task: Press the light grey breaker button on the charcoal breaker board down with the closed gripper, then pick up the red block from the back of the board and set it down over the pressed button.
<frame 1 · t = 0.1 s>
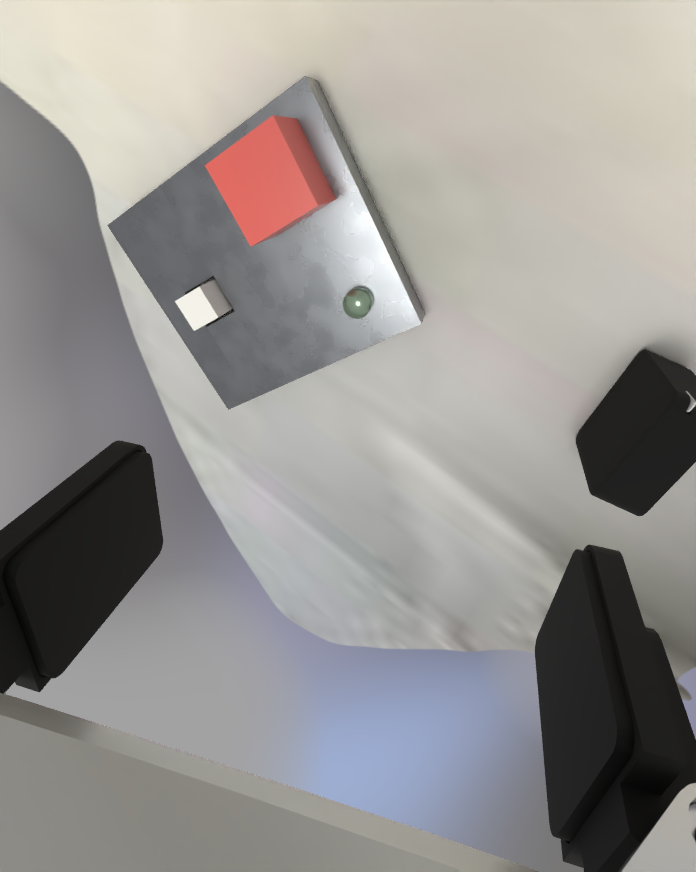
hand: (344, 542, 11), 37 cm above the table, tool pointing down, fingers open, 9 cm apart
breaker board: (272, 266, 47), on the table
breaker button: (207, 303, 46), point 3 cm above the table, slide at 0.0 cm
red block: (285, 181, 40), point 3 cm above the table, touching breaker board
electronic device: (626, 402, 45), on the table
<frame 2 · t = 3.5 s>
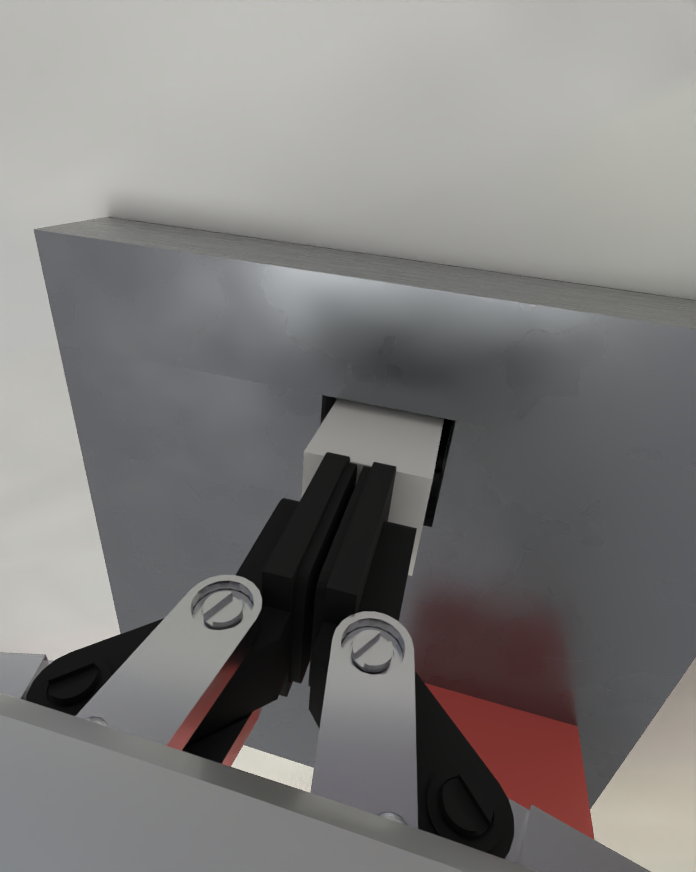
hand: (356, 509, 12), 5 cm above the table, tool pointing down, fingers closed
breaker board: (375, 550, 20), on the table
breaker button: (376, 472, 14), point 3 cm above the table, slide at 0.1 cm, touching gripper
red block: (468, 747, 19), point 3 cm above the table, touching breaker board
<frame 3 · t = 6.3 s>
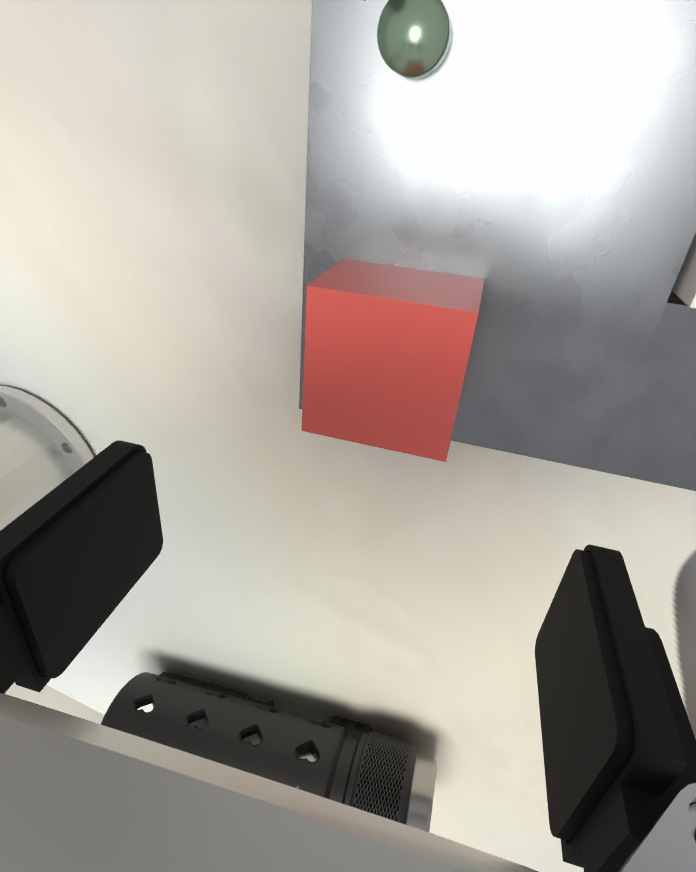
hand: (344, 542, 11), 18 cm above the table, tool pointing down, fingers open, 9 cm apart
breaker board: (563, 229, 22), on the table
muzzle brake: (291, 704, 48), on the table
red block: (402, 336, 24), point 3 cm above the table, touching breaker board
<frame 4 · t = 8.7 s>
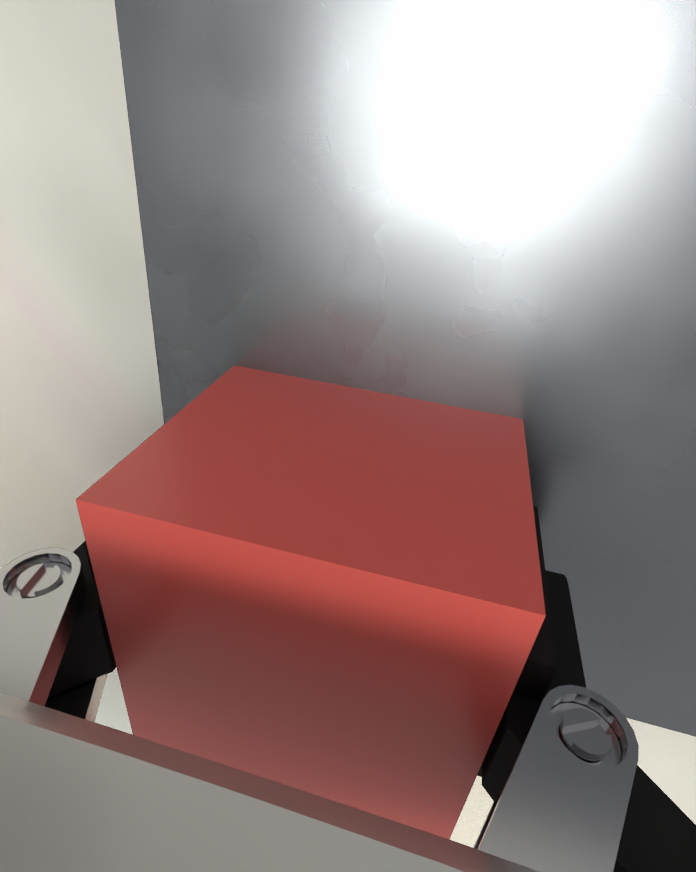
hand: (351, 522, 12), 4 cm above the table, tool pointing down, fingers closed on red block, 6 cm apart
breaker board: (673, 307, 11), on the table
red block: (357, 506, 12), point 3 cm above the table, touching breaker board, gripper
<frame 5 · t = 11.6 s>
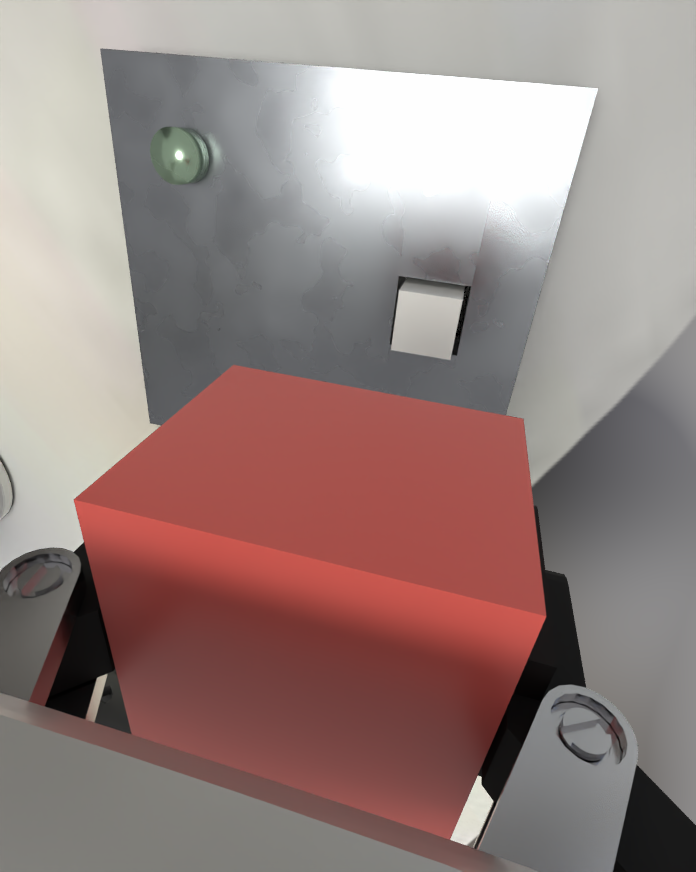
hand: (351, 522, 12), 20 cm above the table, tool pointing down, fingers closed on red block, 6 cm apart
breaker board: (331, 285, 29), on the table
muzzle brake: (195, 683, 54), on the table
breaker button: (429, 314, 26), point 3 cm above the table, slide at 0.9 cm
red block: (357, 506, 12), point 19 cm above the table, touching gripper
when the fingers open (5 cm above the table, at t = 14.8 s): red block drops 1 cm, resting on breaker board.
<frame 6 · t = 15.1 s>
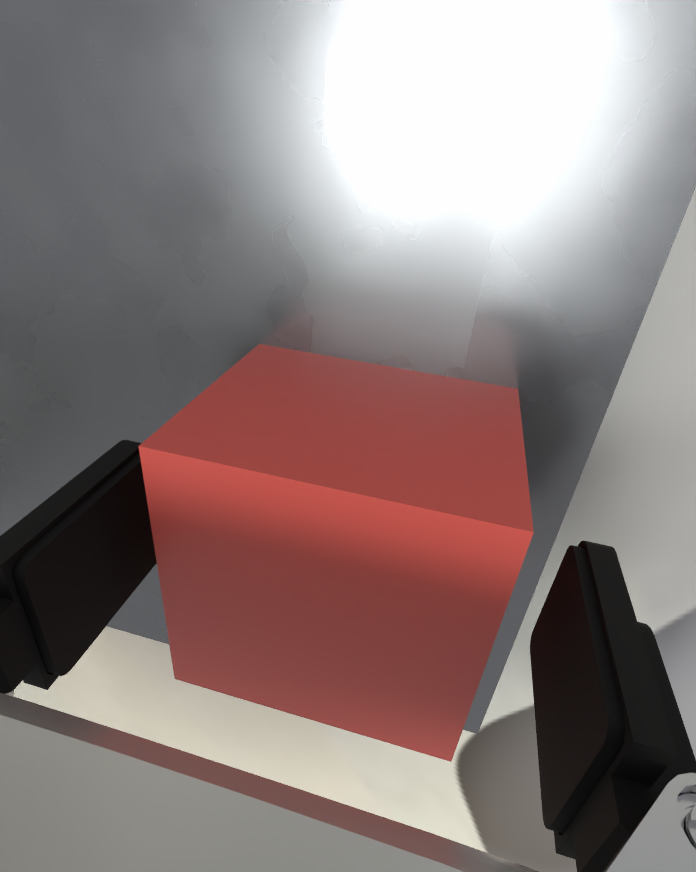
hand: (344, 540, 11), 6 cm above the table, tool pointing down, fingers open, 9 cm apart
breaker board: (214, 386, 17), on the table
red block: (369, 473, 13), point 3 cm above the table, touching breaker board
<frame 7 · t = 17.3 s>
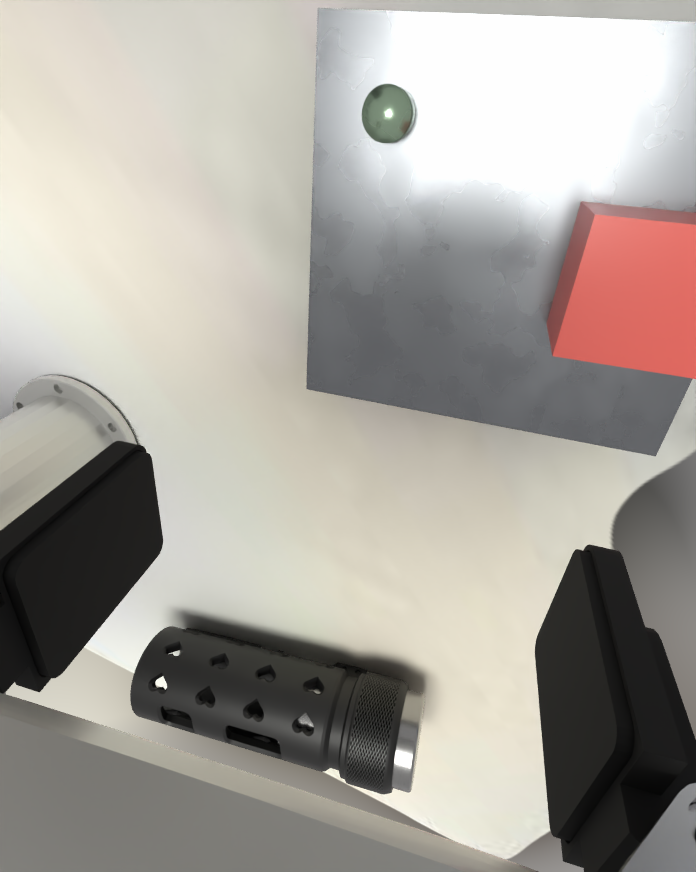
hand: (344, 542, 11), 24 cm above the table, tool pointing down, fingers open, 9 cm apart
breaker board: (506, 248, 29), on the table
muzzle brake: (299, 654, 55), on the table
red block: (626, 274, 26), point 3 cm above the table, touching breaker board
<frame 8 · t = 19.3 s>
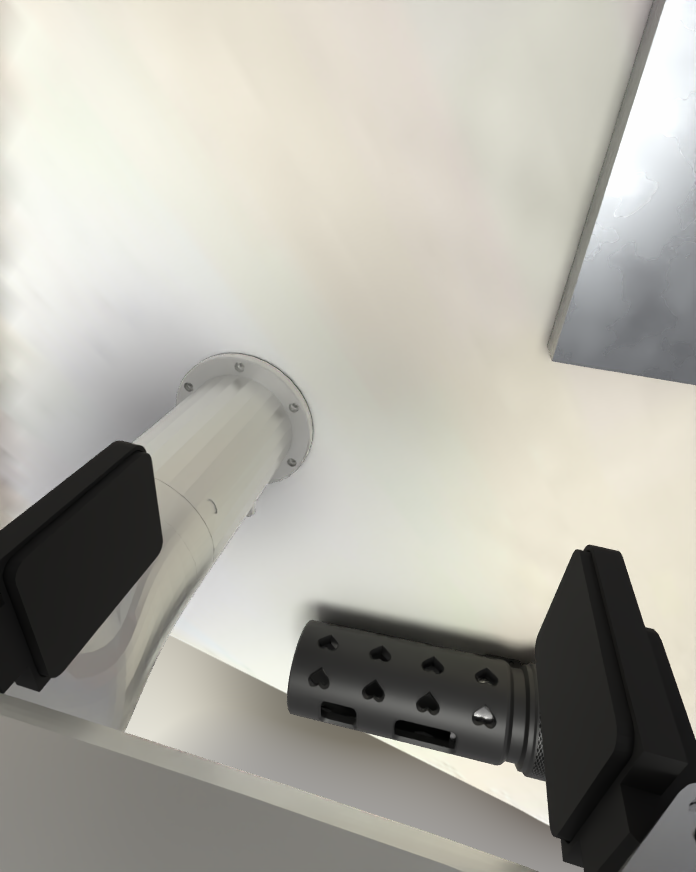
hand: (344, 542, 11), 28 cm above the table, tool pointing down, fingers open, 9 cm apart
muzzle brake: (443, 646, 54), on the table
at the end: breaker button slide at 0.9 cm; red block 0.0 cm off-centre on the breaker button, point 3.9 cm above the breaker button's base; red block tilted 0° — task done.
